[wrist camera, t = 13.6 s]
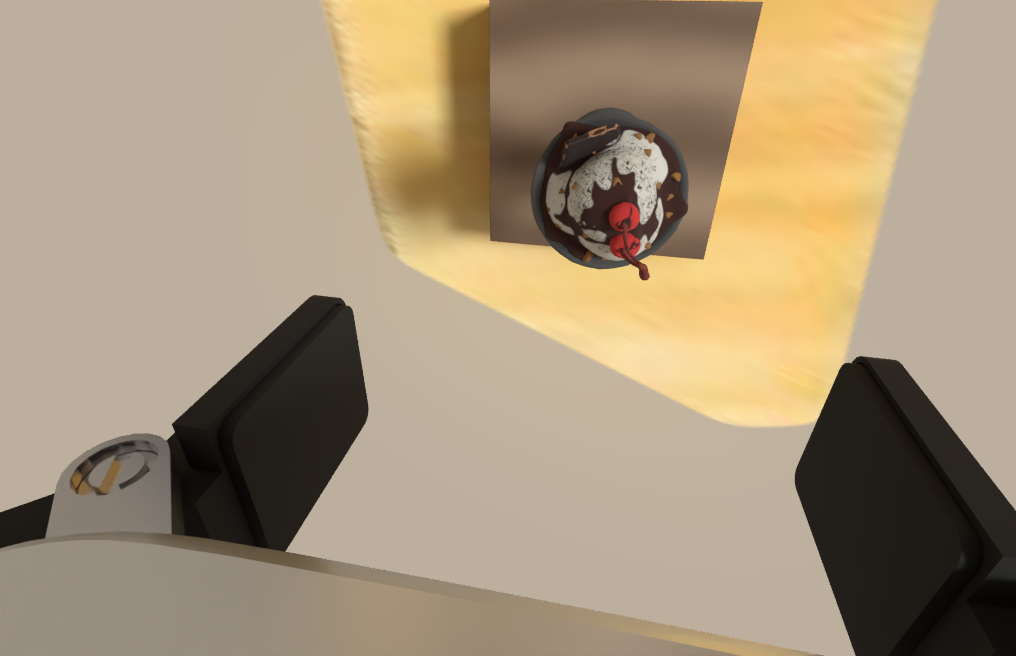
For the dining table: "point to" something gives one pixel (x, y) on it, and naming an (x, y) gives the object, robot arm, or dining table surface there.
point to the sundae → (609, 190)
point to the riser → (615, 92)
